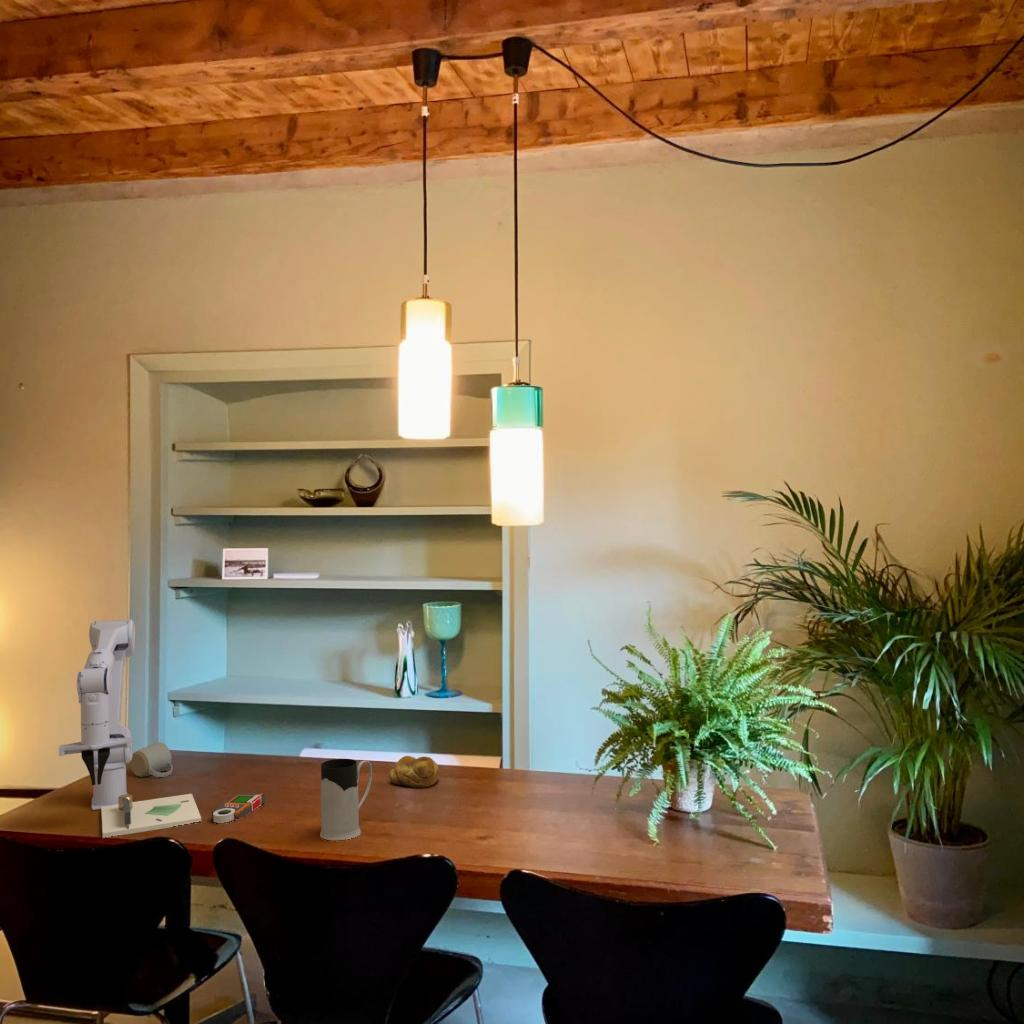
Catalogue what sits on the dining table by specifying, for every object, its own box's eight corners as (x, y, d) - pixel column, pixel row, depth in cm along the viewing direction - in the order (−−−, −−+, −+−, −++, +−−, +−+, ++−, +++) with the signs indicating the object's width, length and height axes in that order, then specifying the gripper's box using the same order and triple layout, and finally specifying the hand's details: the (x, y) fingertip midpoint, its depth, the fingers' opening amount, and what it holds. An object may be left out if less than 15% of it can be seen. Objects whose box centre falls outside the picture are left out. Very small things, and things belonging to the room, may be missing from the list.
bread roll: (382, 787, 223) (382, 755, 223) (401, 776, 232) (401, 745, 232) (429, 791, 218) (428, 759, 218) (446, 780, 227) (445, 749, 227)
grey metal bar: (118, 807, 206) (118, 795, 206) (132, 805, 207) (132, 793, 207) (120, 826, 193) (120, 813, 194) (135, 823, 195) (135, 810, 195)
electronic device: (205, 814, 198) (239, 790, 213) (206, 827, 199) (240, 802, 213) (233, 815, 197) (265, 791, 212) (234, 828, 197) (266, 803, 212)
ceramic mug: (127, 776, 237) (127, 747, 237) (152, 768, 244) (152, 740, 244) (156, 781, 232) (156, 752, 232) (180, 773, 239) (180, 744, 239)
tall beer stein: (310, 836, 189) (309, 765, 189) (357, 817, 201) (356, 750, 201) (340, 844, 184) (338, 771, 184) (387, 823, 196) (385, 755, 196)
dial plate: (101, 811, 209) (101, 805, 209) (191, 797, 217) (191, 792, 217) (102, 838, 191) (102, 832, 191) (201, 822, 199) (201, 817, 199)
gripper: (58, 730, 192) (59, 793, 192) (131, 722, 198) (132, 783, 198) (58, 723, 198) (60, 784, 198) (130, 715, 204) (131, 775, 204)
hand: (96, 783), depth 198 cm, fingers closed
